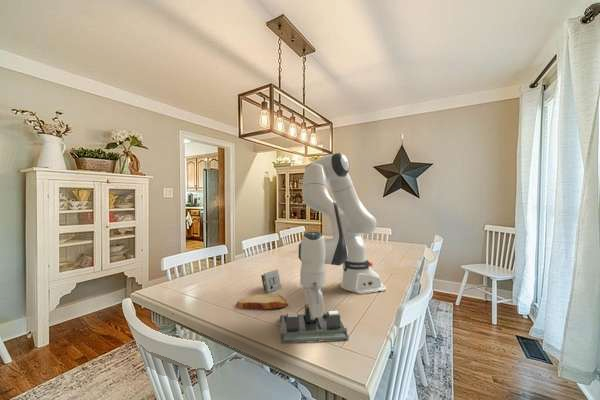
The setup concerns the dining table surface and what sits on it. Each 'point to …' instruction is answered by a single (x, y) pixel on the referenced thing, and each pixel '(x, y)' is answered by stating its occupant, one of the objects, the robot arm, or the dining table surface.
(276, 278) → the electrical switch
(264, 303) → the slice of bread
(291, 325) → the breaker
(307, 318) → the breaker mid
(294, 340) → the panel
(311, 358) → the dining table surface
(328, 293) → the dining table surface
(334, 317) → the breaker
